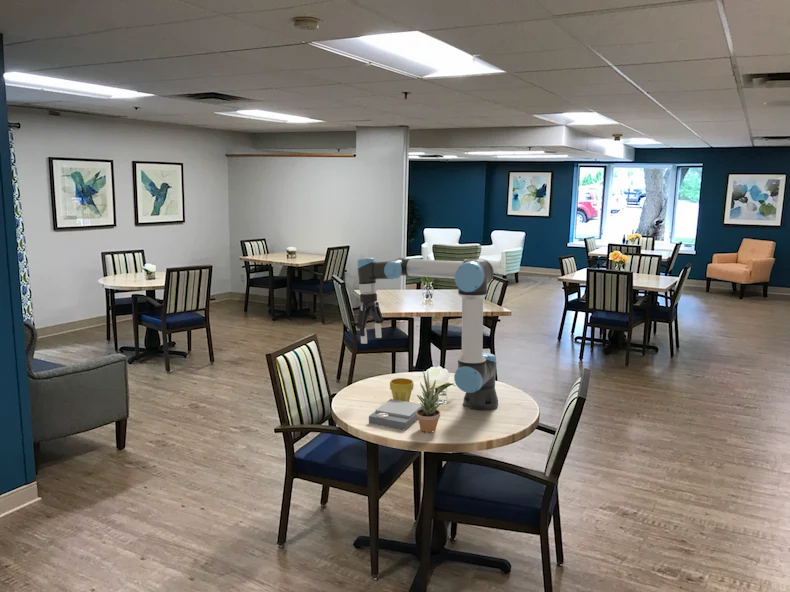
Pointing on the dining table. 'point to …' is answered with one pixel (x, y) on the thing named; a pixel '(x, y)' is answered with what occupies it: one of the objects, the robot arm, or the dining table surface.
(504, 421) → the dining table surface
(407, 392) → the plant pot
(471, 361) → the robot arm
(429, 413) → the potted plant
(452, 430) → the dining table surface
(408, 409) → the kitchen scale
